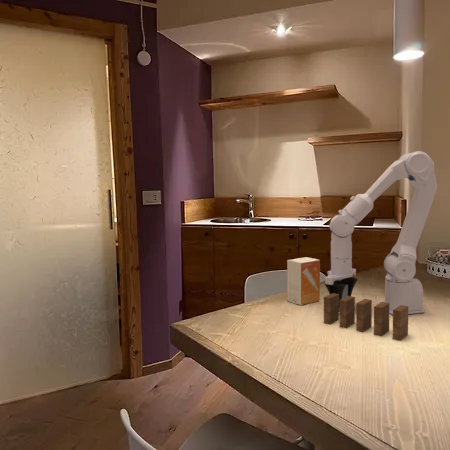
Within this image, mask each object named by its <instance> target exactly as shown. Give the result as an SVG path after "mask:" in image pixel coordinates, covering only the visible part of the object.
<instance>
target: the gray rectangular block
mask: <svg viewBox="0 0 450 450" xmlns="http://www.w3.org/2000/svg"><path fill="white" fill-rule="evenodd" d="M347 296H348V285H346V286H345V288H344V290H343V294H342V299H343V298H345V297H347ZM339 314H340V307H339Z"/></svg>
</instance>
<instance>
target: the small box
mask: <svg viewBox="0 0 450 450" xmlns="http://www.w3.org/2000/svg"><path fill="white" fill-rule="evenodd" d="M286 264H287V265H286V266H287V267H286V269H287V272H286V273H287V274H286V275H287V285H286V286H287V291H286V292H287V296H286V297H287V302H290V303H293V304H295V305H299V306H303V305H307V304H311V303H317V302H320V300H321V291H320V290H321V289H320V288H321V282H320V281H321V259H317V258H312V257H307V256H305V257H298V258H294V259H287V260H286Z"/></svg>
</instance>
